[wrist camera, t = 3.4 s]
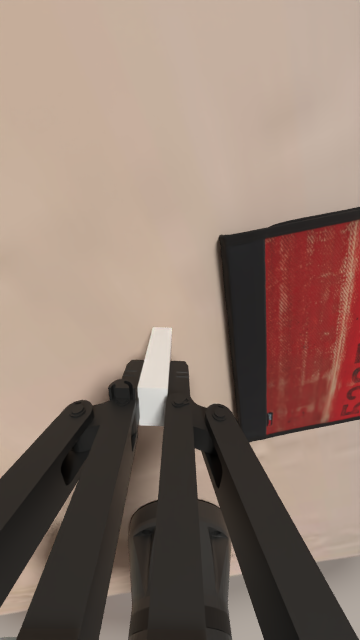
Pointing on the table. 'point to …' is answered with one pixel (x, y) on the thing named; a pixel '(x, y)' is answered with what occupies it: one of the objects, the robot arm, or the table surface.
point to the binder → (295, 323)
